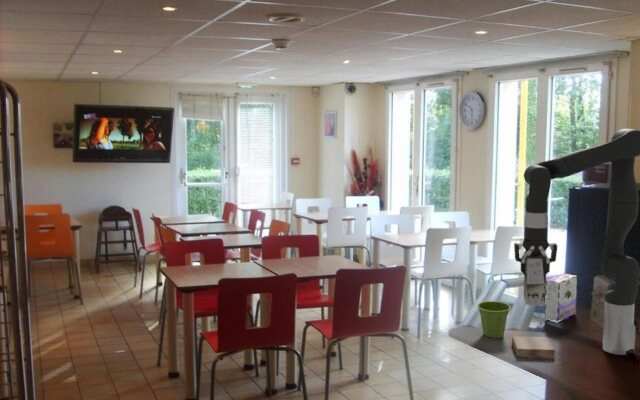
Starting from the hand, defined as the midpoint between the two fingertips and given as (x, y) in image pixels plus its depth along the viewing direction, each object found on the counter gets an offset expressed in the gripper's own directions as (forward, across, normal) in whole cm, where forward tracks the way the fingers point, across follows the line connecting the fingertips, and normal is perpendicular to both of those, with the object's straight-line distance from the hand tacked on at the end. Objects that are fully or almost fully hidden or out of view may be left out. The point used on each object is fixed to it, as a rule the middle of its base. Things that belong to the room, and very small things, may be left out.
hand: (534, 273), depth 224 cm
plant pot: (+28, +12, -15) cm, 33 cm away
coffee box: (+10, 0, 0) cm, 10 cm away
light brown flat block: (+27, 0, 0) cm, 27 cm away
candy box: (+28, -17, -37) cm, 49 cm away
